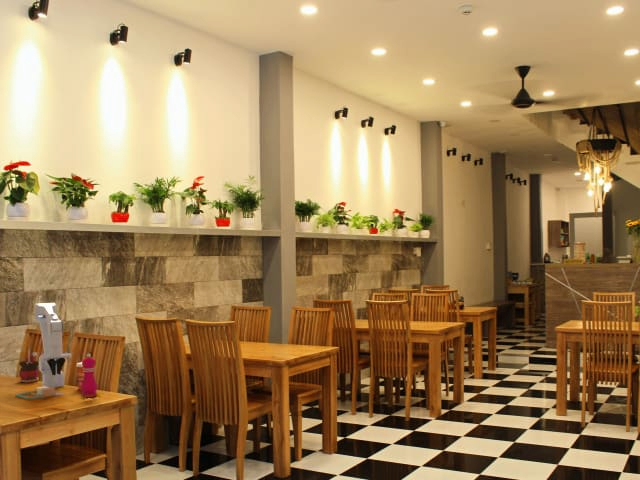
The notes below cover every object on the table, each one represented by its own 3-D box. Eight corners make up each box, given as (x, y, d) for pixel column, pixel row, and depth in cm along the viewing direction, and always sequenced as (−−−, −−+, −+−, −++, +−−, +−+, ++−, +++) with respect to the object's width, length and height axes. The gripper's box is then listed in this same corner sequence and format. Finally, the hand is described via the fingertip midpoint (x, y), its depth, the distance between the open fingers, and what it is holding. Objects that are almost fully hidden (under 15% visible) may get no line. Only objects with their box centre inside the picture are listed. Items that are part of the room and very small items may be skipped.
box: (30, 397, 323) (30, 391, 323) (44, 400, 314) (44, 395, 314) (15, 399, 318) (15, 394, 318) (29, 403, 308) (29, 397, 308)
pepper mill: (101, 396, 321) (100, 352, 322) (91, 399, 314) (90, 355, 315) (88, 395, 324) (87, 352, 324) (77, 398, 317) (77, 354, 317)
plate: (50, 394, 330) (50, 390, 330) (64, 397, 321) (64, 394, 321) (30, 397, 323) (30, 394, 323) (44, 400, 314) (44, 397, 314)
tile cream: (45, 392, 326) (45, 386, 326) (49, 393, 323) (49, 387, 323) (36, 393, 323) (36, 387, 323) (40, 394, 320) (40, 388, 321)
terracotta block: (51, 393, 322) (51, 387, 322) (55, 394, 319) (55, 388, 319) (42, 395, 319) (42, 388, 319) (46, 396, 316) (46, 389, 316)
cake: (15, 382, 365) (14, 348, 366) (25, 379, 375) (24, 346, 375) (33, 382, 364) (33, 348, 364) (43, 379, 373) (43, 346, 373)
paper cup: (73, 392, 331) (72, 363, 332) (84, 390, 338) (83, 361, 339) (86, 393, 328) (85, 364, 329) (97, 390, 336) (96, 361, 336)
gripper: (45, 348, 321) (45, 377, 320) (74, 344, 331) (74, 373, 331) (38, 347, 326) (38, 376, 325) (67, 343, 336) (67, 371, 336)
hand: (56, 374), depth 328 cm, fingers closed
